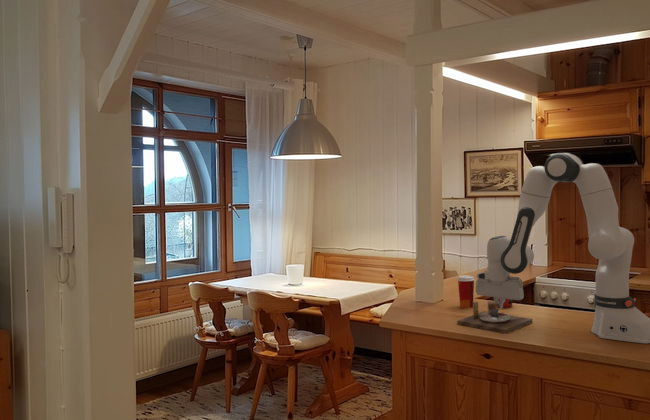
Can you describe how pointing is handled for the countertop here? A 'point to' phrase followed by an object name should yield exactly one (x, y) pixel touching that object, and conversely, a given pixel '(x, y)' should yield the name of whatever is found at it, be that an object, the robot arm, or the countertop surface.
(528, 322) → the base board
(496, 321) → the flange
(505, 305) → the canned food
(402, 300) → the countertop surface
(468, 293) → the paper cup
